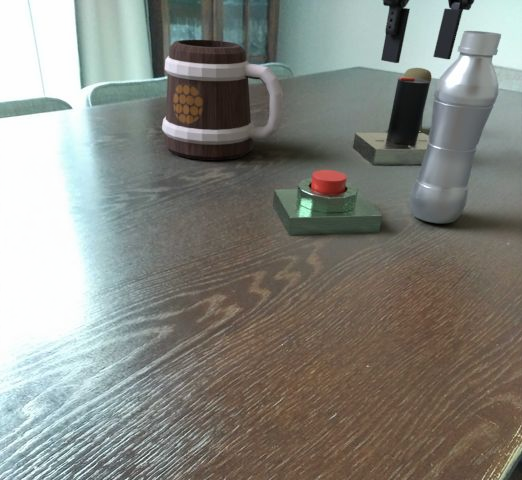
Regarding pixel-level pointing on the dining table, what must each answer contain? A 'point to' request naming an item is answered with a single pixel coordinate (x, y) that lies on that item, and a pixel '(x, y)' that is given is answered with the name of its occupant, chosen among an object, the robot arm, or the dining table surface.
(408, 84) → the black battery
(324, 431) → the dining table surface
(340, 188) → the button
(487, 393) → the dining table surface
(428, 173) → the plastic bottle
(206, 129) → the mug
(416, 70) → the cork
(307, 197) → the button box
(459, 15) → the robot arm
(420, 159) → the base
